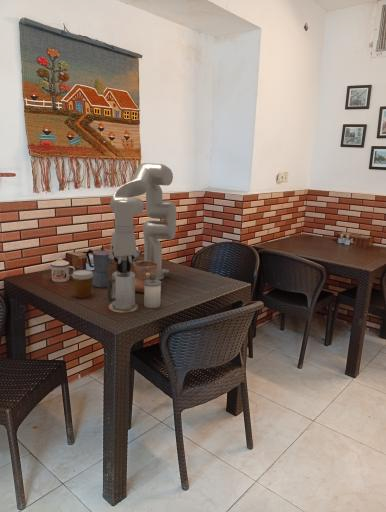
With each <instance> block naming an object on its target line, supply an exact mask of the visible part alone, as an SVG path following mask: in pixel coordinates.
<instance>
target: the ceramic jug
mask: <svg viewBox="0 0 386 512" xmlns="http://www.w3.org/2000/svg"><path fill="white" fill-rule="evenodd" d="M133 269H134V273H135V293H141V294H144V281H145V280H150V273H156V272H157V269H158V263H156V262H153V261H146V260H144V259H142V260H137V261H134V264H133Z"/></svg>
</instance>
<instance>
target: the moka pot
mask: <svg viewBox="0 0 386 512" xmlns="http://www.w3.org/2000/svg"><path fill="white" fill-rule="evenodd" d="M104 249H105V247H104V246H103V247H100V249H99V250H94V249H88V250H87V251H86V254H85V255H86V258H87V262H88V266H89V268H93V269H94V272H93V274H94V275H93V277H92V287H95V288H107V280H110V264H111V261H112V260H113V259H110V258H109V255H110V253H111V250H104ZM90 254H91V255H92V260H93V265H92V263H91V258H90ZM113 256H114V255H113ZM114 257H115V256H114Z"/></svg>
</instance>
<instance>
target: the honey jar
mask: <svg viewBox="0 0 386 512" xmlns="http://www.w3.org/2000/svg"><path fill="white" fill-rule="evenodd" d="M72 273H73V275H71V277H72V278H73V284H74V291H75V297H76V298H78V299H84V298H85V299H86V298H89V297H91V293H92V287H93V285H92V282H93V276H94V272H93V271H92V270H89V269H77V270H75V271H74V270H73V272H72Z"/></svg>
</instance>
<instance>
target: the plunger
mask: <svg viewBox="0 0 386 512" xmlns="http://www.w3.org/2000/svg"><path fill="white" fill-rule="evenodd" d="M121 264H122V273H123V274H122V275H125V273H127V260H121Z"/></svg>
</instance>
